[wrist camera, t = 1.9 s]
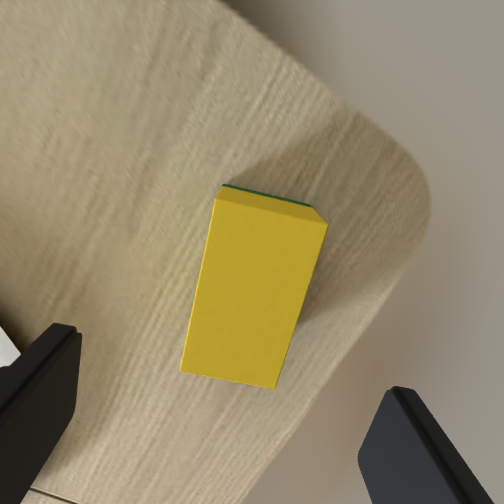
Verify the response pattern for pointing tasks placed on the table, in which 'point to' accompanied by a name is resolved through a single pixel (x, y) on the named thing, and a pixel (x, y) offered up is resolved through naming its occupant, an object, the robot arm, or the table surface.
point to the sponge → (251, 286)
